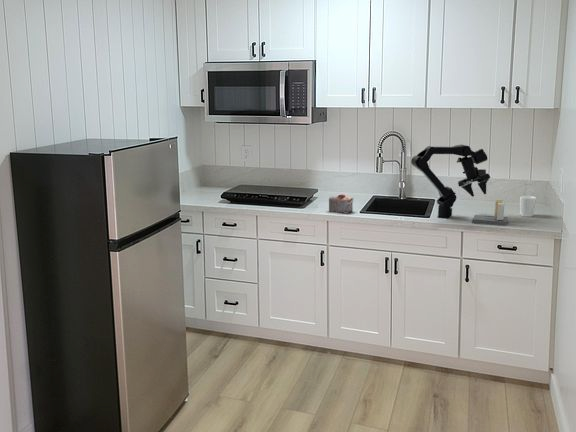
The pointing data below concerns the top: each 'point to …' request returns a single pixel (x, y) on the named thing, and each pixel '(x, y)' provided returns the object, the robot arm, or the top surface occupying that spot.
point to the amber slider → (496, 206)
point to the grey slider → (500, 211)
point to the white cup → (527, 205)
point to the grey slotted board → (489, 220)
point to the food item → (340, 203)
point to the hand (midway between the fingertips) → (479, 195)
